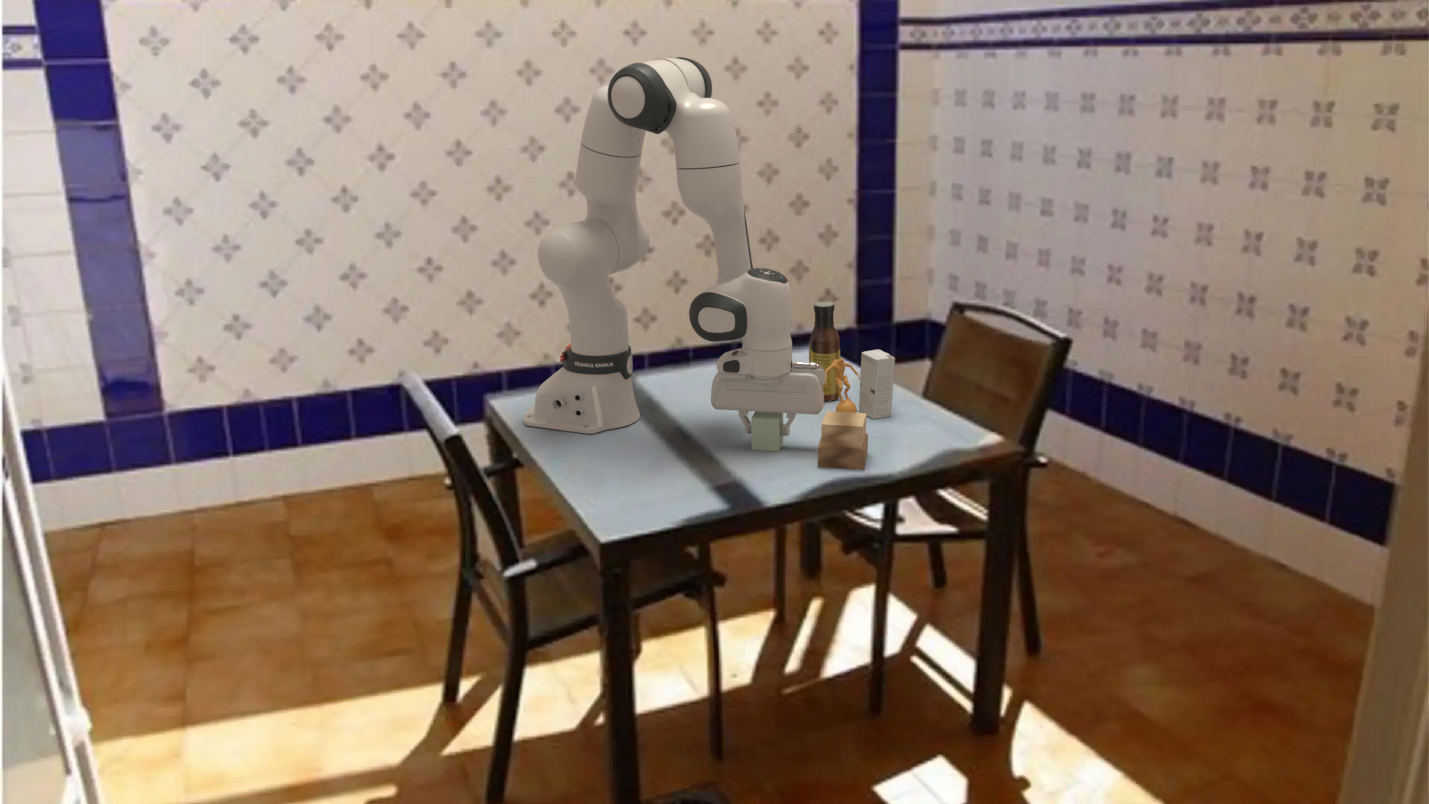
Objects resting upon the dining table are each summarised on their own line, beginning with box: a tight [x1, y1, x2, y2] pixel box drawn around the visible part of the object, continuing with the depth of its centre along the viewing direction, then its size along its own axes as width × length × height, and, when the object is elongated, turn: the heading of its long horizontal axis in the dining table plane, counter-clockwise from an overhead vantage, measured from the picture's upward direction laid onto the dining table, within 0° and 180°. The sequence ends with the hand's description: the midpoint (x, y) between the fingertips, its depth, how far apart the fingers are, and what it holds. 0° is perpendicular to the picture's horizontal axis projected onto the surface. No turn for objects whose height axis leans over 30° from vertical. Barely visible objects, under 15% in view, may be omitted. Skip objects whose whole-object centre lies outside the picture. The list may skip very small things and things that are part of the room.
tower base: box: [817, 433, 869, 471], centre depth 208 cm, size 8×8×4 cm
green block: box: [750, 411, 784, 452], centre depth 215 cm, size 5×5×6 cm
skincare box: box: [858, 349, 896, 419], centre depth 230 cm, size 6×4×12 cm
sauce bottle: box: [808, 300, 841, 403], centre depth 238 cm, size 7×6×20 cm
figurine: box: [824, 357, 860, 413], centre depth 227 cm, size 8×6×12 cm
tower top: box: [820, 410, 867, 448], centre depth 206 cm, size 7×7×4 cm
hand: (767, 433), depth 215 cm, fingers closed on green block, 5 cm apart
